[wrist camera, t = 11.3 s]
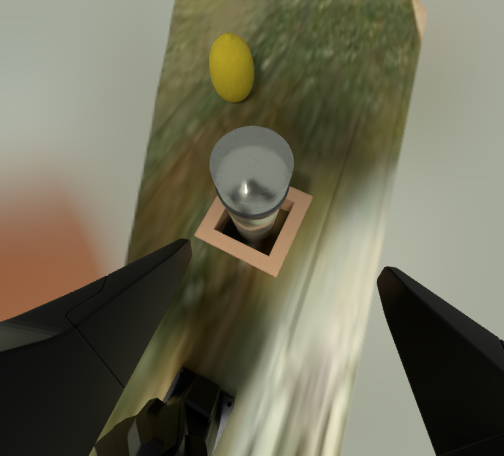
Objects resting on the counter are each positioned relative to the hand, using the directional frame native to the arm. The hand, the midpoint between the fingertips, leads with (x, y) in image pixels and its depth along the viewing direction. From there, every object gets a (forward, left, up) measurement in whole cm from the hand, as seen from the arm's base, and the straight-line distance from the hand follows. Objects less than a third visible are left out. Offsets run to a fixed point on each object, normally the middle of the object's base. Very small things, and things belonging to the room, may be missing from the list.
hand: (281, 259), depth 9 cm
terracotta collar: (+4, +4, -14) cm, 15 cm away
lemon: (+20, +14, -14) cm, 28 cm away
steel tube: (+4, +4, -14) cm, 15 cm away
